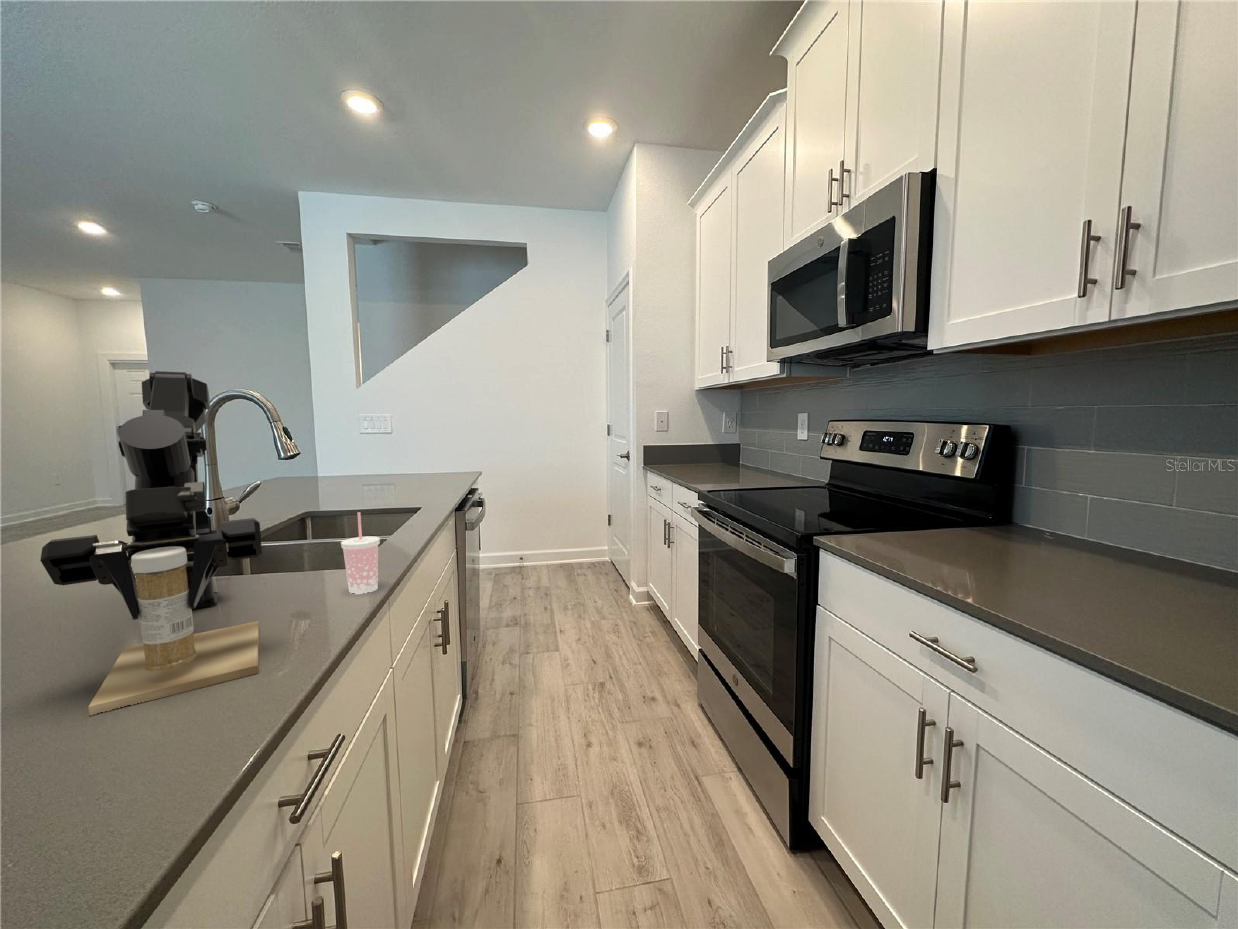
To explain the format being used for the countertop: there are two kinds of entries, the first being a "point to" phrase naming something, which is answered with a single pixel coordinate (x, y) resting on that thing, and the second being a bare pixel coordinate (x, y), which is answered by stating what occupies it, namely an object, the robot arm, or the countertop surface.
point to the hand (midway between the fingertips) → (164, 612)
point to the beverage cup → (361, 562)
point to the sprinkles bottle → (164, 607)
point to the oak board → (181, 668)
